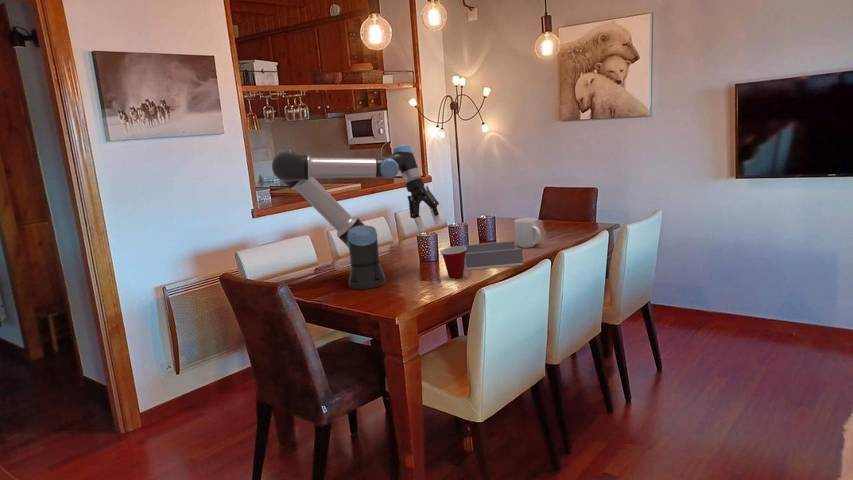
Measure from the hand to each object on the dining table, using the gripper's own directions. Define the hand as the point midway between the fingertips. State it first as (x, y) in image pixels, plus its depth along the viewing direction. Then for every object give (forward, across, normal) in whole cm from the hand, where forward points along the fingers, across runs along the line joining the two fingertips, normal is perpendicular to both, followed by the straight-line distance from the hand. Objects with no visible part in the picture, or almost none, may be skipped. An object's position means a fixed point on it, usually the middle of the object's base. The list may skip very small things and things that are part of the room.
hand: (430, 227), depth 246 cm
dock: (+23, 0, -24) cm, 33 cm away
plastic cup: (+23, -6, +1) cm, 24 cm away
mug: (+22, +10, -56) cm, 61 cm away
